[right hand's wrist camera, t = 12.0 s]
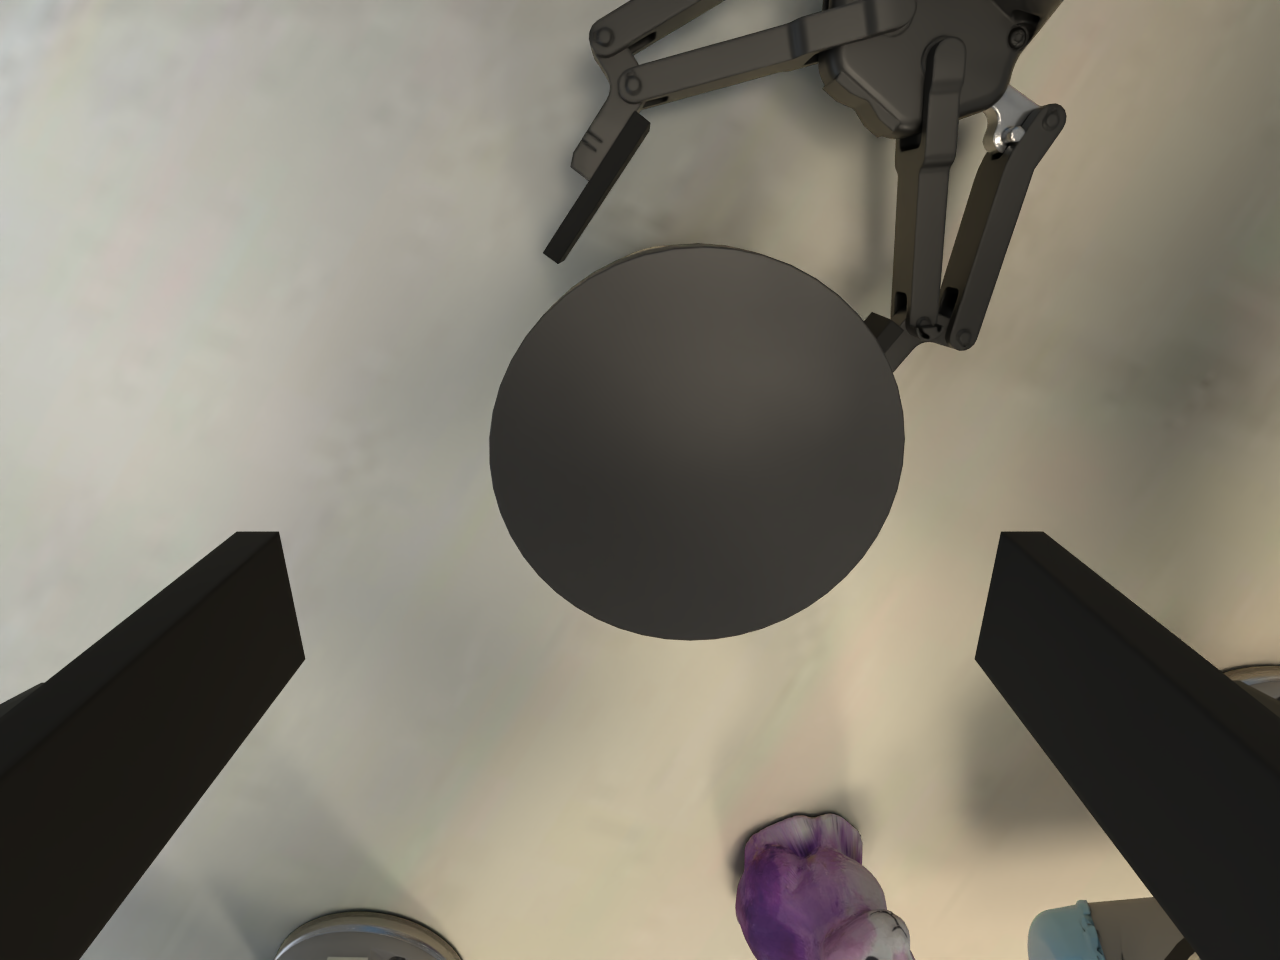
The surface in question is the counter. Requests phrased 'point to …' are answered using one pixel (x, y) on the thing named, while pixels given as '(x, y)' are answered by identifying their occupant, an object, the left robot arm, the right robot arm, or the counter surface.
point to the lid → (696, 442)
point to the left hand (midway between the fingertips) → (678, 350)
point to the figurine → (815, 896)
